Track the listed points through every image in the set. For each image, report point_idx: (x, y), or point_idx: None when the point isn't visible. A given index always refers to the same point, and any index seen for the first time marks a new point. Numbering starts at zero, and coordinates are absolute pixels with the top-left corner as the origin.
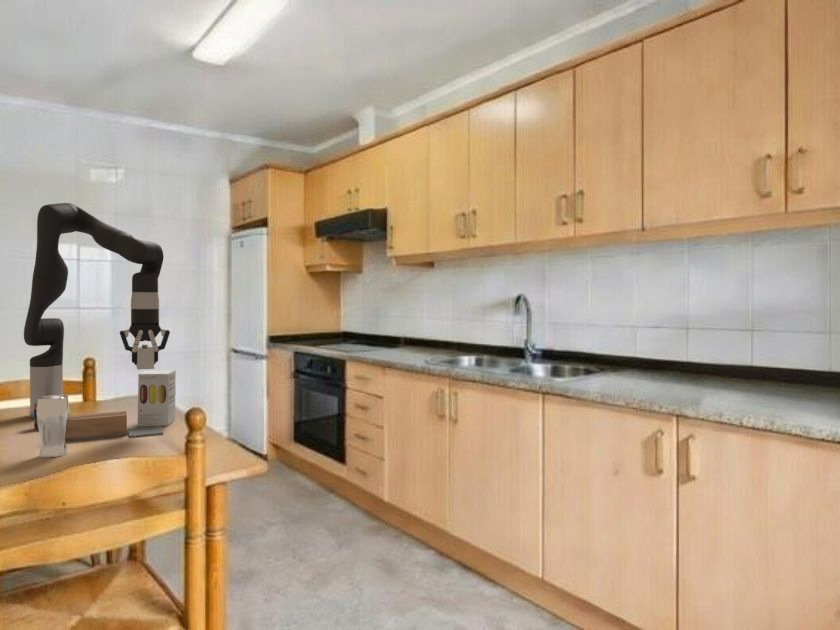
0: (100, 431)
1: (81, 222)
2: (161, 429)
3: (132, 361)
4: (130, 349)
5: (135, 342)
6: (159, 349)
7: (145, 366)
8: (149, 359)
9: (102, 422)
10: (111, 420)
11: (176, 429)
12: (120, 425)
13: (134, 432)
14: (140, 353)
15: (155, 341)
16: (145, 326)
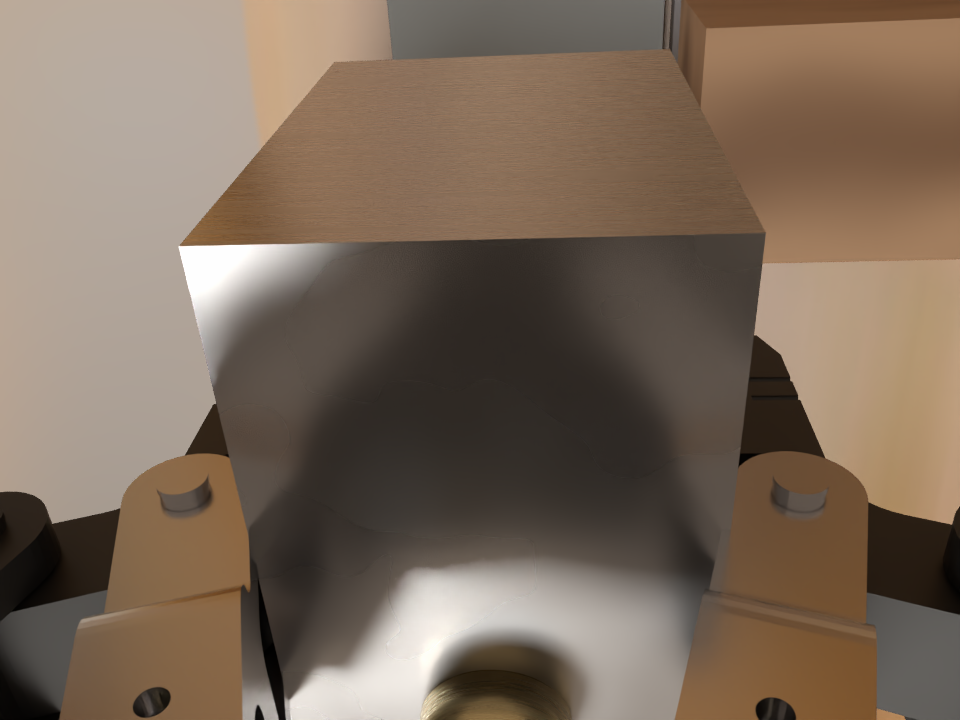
0: None
1: None
2: (394, 29)
3: (767, 352)
4: (906, 544)
5: (843, 656)
6: (109, 525)
7: (503, 71)
8: (396, 125)
9: (923, 7)
10: (844, 12)
11: (277, 55)
12: (747, 5)
13: (616, 3)
14: (639, 171)
15: (85, 658)
16: None
